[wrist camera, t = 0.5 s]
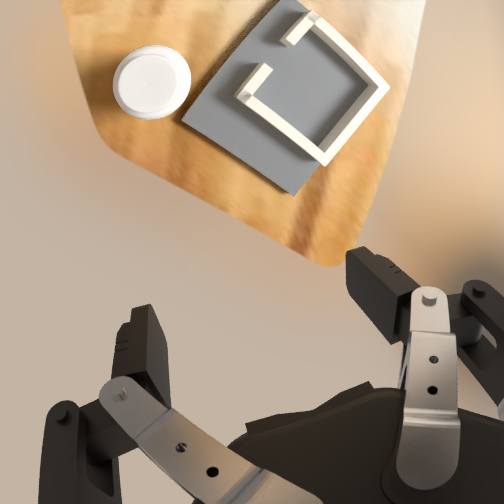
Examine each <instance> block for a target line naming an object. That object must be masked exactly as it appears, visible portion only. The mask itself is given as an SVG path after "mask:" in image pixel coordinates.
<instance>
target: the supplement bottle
mask: <svg viewBox="0 0 504 504" xmlns="http://www.w3.org/2000/svg"><path fill="white" fill-rule="evenodd" d="M190 85H191V74H190V69H189V67H188V64H187V62H186V61H185V59H184V58H183V57H182V56H181V55H180V54H179V53H178V52H176V51H175V50H173V49H171V48H169V47H165V46H161V45H150V46H145V47H141V48H139V49H136V50H134V51H133V52H131V53H130V54H129V55H127V56H126V57H125V58H124V59H123V60H122V61H121V63H120V64H119V66H118V68H117V69H116V72H115V75H114V79H113V92H114V96H115V99H116V101H117V103H118V104H119V106H120V107H121V108H122V109H123V110H124V111H125V112H126V113H128V114H129V115H131V116H133V117H136V118H139V119H144V120H153V119H159V118H162V117H165V116H167V115H169V114H171V113H172V112H174V111H175V110H176V109H177V108H179V107H180V106H181V104H182V103H183V102H184V100H185V99H186V97H187V95H188V93H189V90H190Z"/></svg>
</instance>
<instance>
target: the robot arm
mask: <svg viewBox="0 0 504 504" xmlns="http://www.w3.org/2000/svg"><path fill="white" fill-rule="evenodd" d="M346 285H347V290H348V292H349V294H350V296H351V297H352V298H353V300H354V301H355V302H356V303H357V304H358V305H359V307H360V308H361V309H362V310H363V311H364V313H365V314H366V315H367V316H368V317H369V319H370V320H371V321H372V322H373V324H374V325H375V326H376V327H377V328H378V330H379V331H380V332H381V333H382V334H383V336H384V337H385V338H386V339H387V341H388V342H389V343H390V344H391V345H392V344H394V343H396V342H399V341H402V342H403V348H402V357H401V366H400V373H399V381H398V387H397V388H375V389H374V388H373V387H372V385H371V384H370V382H369V381H367V382H365V383H363V384H360V385H358V386H356V387H353V388H350V389H348V390H345V391H343V392H340V393H339V394H337V395H336V396H335V397H333V398H331V399H330V400H328V401H327V402H325V403H324V404H322V405H320V406H319V407H317V408H316V409H314V410H311V411H305V412H295V413H285V414H276V415H273V416H270V417H266V418H263V419H259V420H256V421H252V422H249V423H245V425H246V428H247V433H245V434H243V435H241V436H240V437H238V438H237V439H235V440H234V441H233V442H231V443H230V444H229V445H228V446H227V447H226V446H224V445H223V444H221V443H220V442H218V441H217V440H215V439H214V438H213V437H211V436H210V435H208V434H207V433H206V432H204V431H203V430H201V429H200V428H199V427H197V426H196V425H195V424H193V423H192V422H191V421H189V420H188V419H187V418H185V417H184V416H183V415H181V414H180V413H179V412H177V411H176V410H175V409H173V408H171V399H170V398H171V397H170V383H169V368H168V348H167V342H166V338H165V336H164V333H163V330H162V328H161V326H160V323H159V321H158V319H157V316H156V314H155V312H154V310H153V307H152V305H151V304H147V305H143V306H139V307H135V308H132V311H131V319H130V322H127V323H123V325H122V326H121V328H120V329H119V331H118V333H117V337H116V345H115V353H114V359H113V366H112V375H111V380H110V381H108V382H107V383H106V384H105V385H104V386H103V387H102V389H101V390H100V393H99V399H97V400H95V401H93V402H91V403H88V404H86V405H84V406H82V407H80V408H79V407H78V406H77V405H76V403H74V402H73V401H69V400H66V401H61V402H59V403H57V404H55V405H54V406H53V407H52V408H51V409H50V410H49V412H48V414H47V417H46V423H45V430H44V437H43V446H42V454H41V466H40V479H39V496H38V504H122V498H121V488H120V476H119V462H118V456H120V455H122V454H125V453H127V452H129V451H131V450H133V449H135V448H139V449H141V451H142V452H144V454H145V455H146V456H147V457H148V458H150V460H152V461H153V462H154V463H155V464H156V465H157V466H158V467H159V468H160V469H161V470H162V471H163V472H164V473H165V474H166V475H168V476H169V477H170V478H171V479H172V480H173V481H174V482H175V483H176V484H177V485H179V486H180V487H181V488H182V489H183V490H185V492H187V493H188V494H189V495H190V496H191V497H193V498H194V501H193V503H192V504H504V297H503V296H502V295H501V294H500V293H499V292H497V291H496V290H495V289H494V288H493V287H492V286H491V285H489V284H488V283H486V282H484V281H480V280H470V281H467V282H466V283H465V284H464V286H463V289H462V293H459V294H453V295H445V293H444V292H443V291H441V290H440V289H438V288H435V287H428V286H425V287H421V286H420V285H418V284H417V283H416V282H415V281H414V280H413V279H412V278H410V277H409V276H408V275H407V274H406V273H405V272H404V271H402V270H401V269H400V268H399V267H398V266H396V265H395V264H394V263H393V262H392V261H391V260H389V259H388V258H386V257H383V256H381V255H378V254H377V255H374V254H373V253H372V252H371V251H370V250H368V249H367V248H366V247H364V246H362V247H359V248H356V249H352V250H349V251H347V252H346ZM484 327H485V328H486V329H487V330H488V331H489V332H490V334H491V335H492V336H493V337H494V338H495V340H496V344H497V348H495V347H494V346H493V345H492V344H491V343H490V342H489V340H488V339H487V338H486V337H485V336H484V335H483V334H482V332H483V330H484ZM457 355H458V357H459V358H460V359H461V361H462V362H463V363H464V364H465V365H466V367H467V368H468V369H469V370H470V372H471V373H472V374H473V375H474V377H475V378H476V379H477V380H478V382H479V383H480V384H481V386H482V387H483V388H484V389H485V391H486V392H487V393H488V394H489V396H490V397H491V399H492V400H493V401H494V403H495V404H496V405H497V407H498V415H499V419H500V420H498V419H494V418H491V417H487V416H484V415H480V414H477V413H474V412H470V411H467V410H464V409H461V408H458V374H457Z"/></svg>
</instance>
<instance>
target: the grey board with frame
mask: <svg viewBox="0 0 504 504" xmlns="http://www.w3.org/2000/svg"><path fill="white" fill-rule="evenodd" d="M389 88H390V86H389V85H388V84H387V83H386V82H385V81H384V79H383V78H382V77H381V76H380V75H379V74H378V73H377V72H376V71H375V69H374V68H373V67H372V66H371V65H370V64H369V63H368V62H367V61H366V60H365V59H364V58H363V57H362V56H361V55H360V54H359V53H358V52H357V51H356V49H355V48H354V47H353V46H352V45H350V44H349V43H348V42H347V41H346V40H345V39H344V38H343V37H342V36H341V35H340V34H339V33H338V32H337V31H336V30H335V29H334V28H333V27H332V26H331V25H329V24H328V23H327V22H326V21H325V20H324V19H323V18H322V17H320V16H319V15H318V14H317V13H316V12H315V11H314V10H310V11H309V10H308V9H306V8H305V7H304V6H303V5H302V4H300V3H299V2H298V1H297V0H279V1H278V2H277V3H276V4H275V5H274V6H273V7H272V8H271V9H270V10H269V11H268V13H267V14H266V15H265V16H264V17H263V18H262V19H261V20H260V21H259V22H258V23H257V25H256V26H255V27H254V28H253V29H252V30H251V31H250V32H249V33H248V35H247V36H246V37H245V38H244V39H243V40H242V42H241V43H240V44H239V45H238V46H237V47H236V49H235V50H234V51H233V52H232V53H231V55H230V56H229V57H228V58H227V59H226V61H225V62H224V63H223V64H222V66H221V67H220V68H219V69H218V71H217V72H216V73H215V74H214V76H213V77H212V78H211V79H210V81H209V82H208V83H207V85H206V86H205V87H204V89H203V90H202V91H201V92H200V94H199V95H198V96H197V98H196V99H195V101H194V102H193V103H192V105H191V106H190V107H189V109H188V110H187V111H186V113H185V114H184V116H183V117H182V118H181V121H183V122H185V123H186V124H188V125H189V126H191V127H192V128H194V129H196V130H197V131H199V132H200V133H202V134H203V135H205V136H206V137H208V138H210V139H211V140H213V141H214V142H216V143H217V144H219V145H220V146H222V147H223V148H225V149H226V150H228V151H229V152H231V153H232V154H234V155H235V156H237V157H238V158H240V159H241V160H243V161H244V162H246V163H247V164H248V165H250V166H251V167H253V168H254V169H256V170H257V171H259V172H260V173H261V174H263V175H264V176H266V177H267V178H269V179H270V180H271V181H273V182H274V183H276V184H277V185H279V186H280V187H281V188H283V189H284V190H286V191H287V192H288V193H290V194H291V195H292V196H295V195H296V193H297V192H298V191H299V190H300V188H301V187H302V186H303V185H304V184H305V182H306V181H307V180H308V179H309V177H310V176H311V175H312V174H313V173H314V171H315V170H316V169H317V168H318V166H319V165H320V164H322V165H323V166H326V165H327V164H328V163H329V162H330V160H331V159H332V158H333V157H334V155H335V154H336V153H337V152H338V151H339V149H340V148H341V147H342V146H343V144H344V143H345V142H346V141H347V140H348V138H349V137H350V136H351V135H352V134H353V132H354V131H355V130H356V129H357V127H358V126H359V125H360V124H361V123H362V121H363V120H364V119H365V118H366V116H367V115H368V114H369V113H370V112H371V110H372V109H373V108H374V107H375V105H376V104H377V103H378V102H379V101H380V99H381V98H382V97H383V96H384V94H385V93H386V92H387V91H388V90H389Z"/></svg>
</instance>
